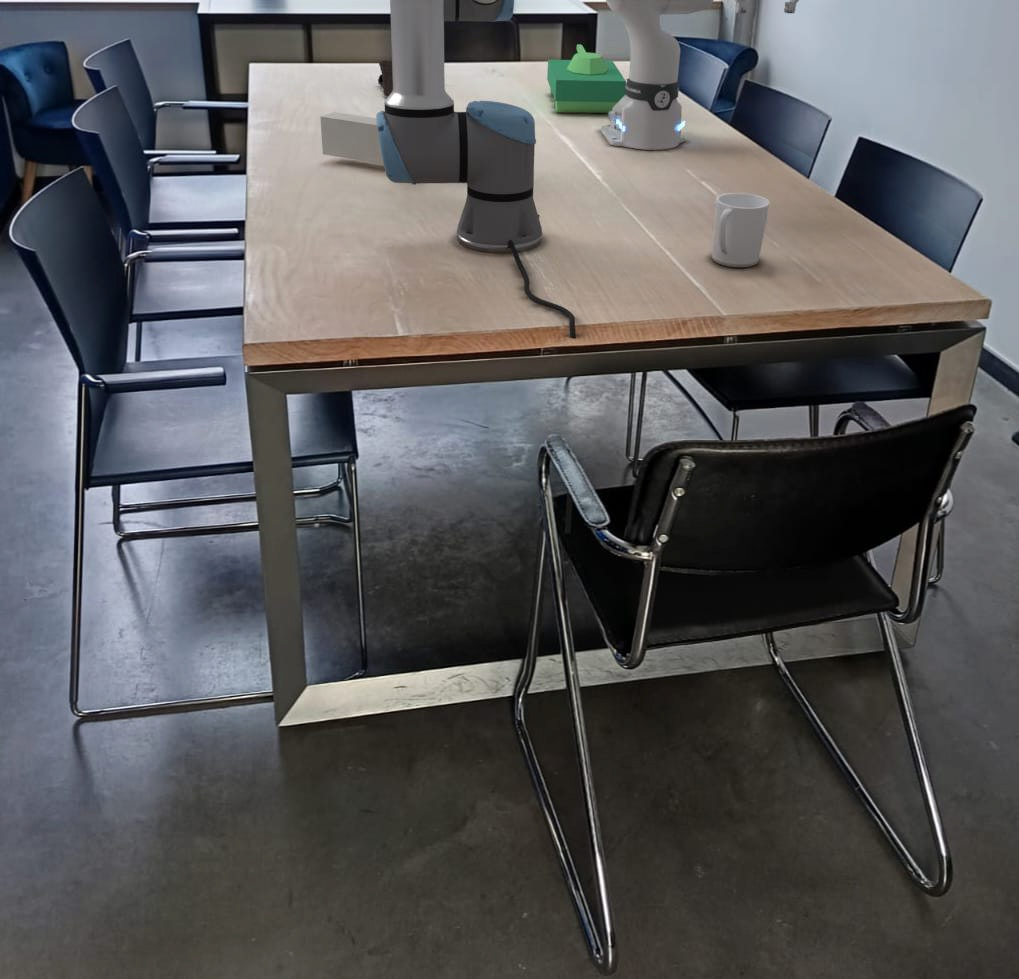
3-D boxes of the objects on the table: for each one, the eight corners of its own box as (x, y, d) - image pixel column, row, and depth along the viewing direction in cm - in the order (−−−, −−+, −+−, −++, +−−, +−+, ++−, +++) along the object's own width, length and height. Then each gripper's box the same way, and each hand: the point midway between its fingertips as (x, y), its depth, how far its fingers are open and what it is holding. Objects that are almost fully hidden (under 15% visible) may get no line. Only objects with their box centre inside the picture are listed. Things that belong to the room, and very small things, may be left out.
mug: (725, 247, 195) (732, 189, 189) (770, 259, 190) (779, 200, 184) (692, 263, 187) (699, 203, 182) (739, 275, 183) (747, 215, 177)
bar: (438, 166, 231) (437, 127, 227) (425, 171, 227) (425, 132, 223) (336, 149, 240) (334, 111, 236) (322, 154, 236) (320, 116, 232)
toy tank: (609, 41, 303) (627, 65, 273) (606, 87, 310) (623, 116, 280) (546, 39, 302) (556, 64, 272) (544, 86, 309) (554, 115, 279)
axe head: (443, 87, 294) (392, 77, 287) (436, 115, 299) (385, 106, 292) (421, 62, 307) (371, 52, 300) (414, 89, 311) (365, 80, 304)
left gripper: (422, 36, 226) (424, 150, 238) (374, 49, 212) (379, 170, 224) (453, 40, 223) (454, 155, 235) (407, 53, 209) (410, 175, 221)
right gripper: (824, -72, 199) (812, 10, 207) (716, -73, 197) (707, 10, 204) (838, -69, 194) (824, 15, 201) (727, -70, 191) (717, 15, 199)
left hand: (417, 162), depth 230 cm, fingers closed on bar, 5 cm apart
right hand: (764, 12), depth 203 cm, fingers open, 8 cm apart
